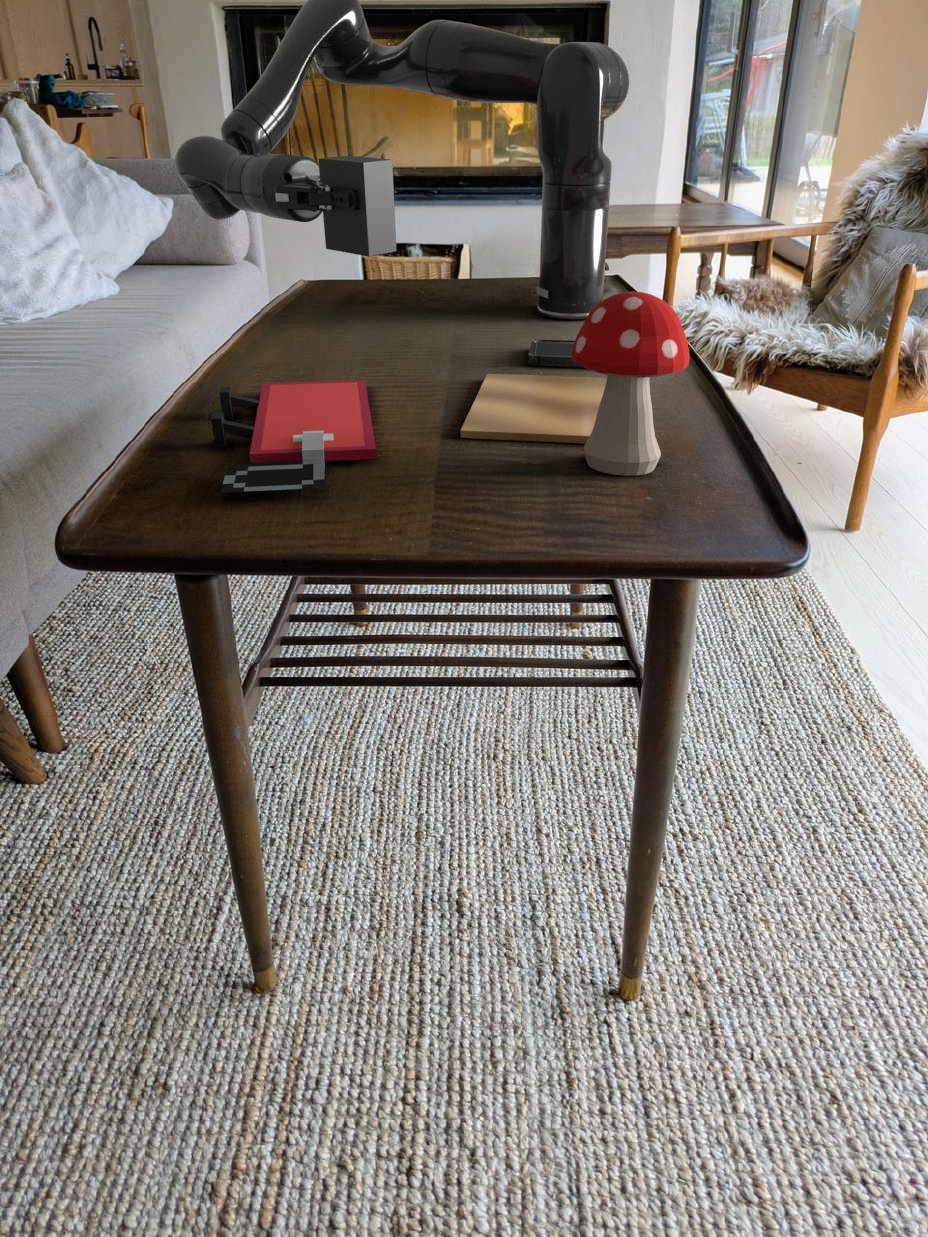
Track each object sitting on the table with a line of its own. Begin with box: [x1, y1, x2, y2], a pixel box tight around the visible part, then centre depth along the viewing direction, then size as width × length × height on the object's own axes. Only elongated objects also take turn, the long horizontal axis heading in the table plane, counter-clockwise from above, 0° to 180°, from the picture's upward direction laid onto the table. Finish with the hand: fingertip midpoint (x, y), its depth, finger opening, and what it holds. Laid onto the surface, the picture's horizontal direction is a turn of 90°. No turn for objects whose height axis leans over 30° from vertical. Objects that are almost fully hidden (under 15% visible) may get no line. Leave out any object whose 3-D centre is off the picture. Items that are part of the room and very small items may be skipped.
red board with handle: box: [210, 379, 377, 494], centre depth 87 cm, size 30×3×15 cm
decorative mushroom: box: [572, 290, 691, 476], centre depth 77 cm, size 10×9×15 cm
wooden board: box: [459, 373, 607, 445], centre depth 94 cm, size 19×17×1 cm
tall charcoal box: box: [318, 155, 397, 258], centre depth 108 cm, size 8×5×10 cm, turn 47°
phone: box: [527, 339, 583, 368], centre depth 110 cm, size 8×1×15 cm
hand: (372, 197), depth 106 cm, fingers closed on tall charcoal box, 4 cm apart
